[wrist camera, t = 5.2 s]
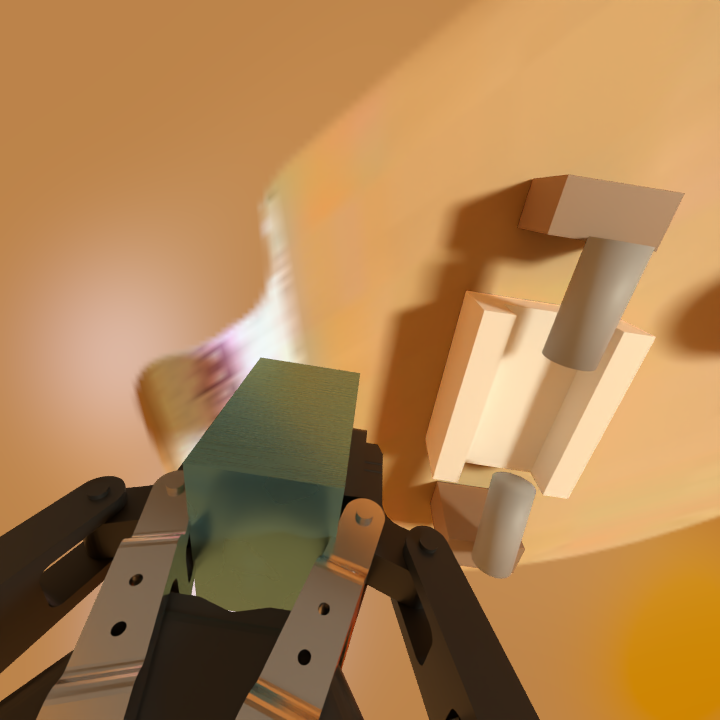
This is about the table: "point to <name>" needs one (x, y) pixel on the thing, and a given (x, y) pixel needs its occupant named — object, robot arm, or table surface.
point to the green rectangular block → (269, 484)
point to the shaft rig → (542, 368)
